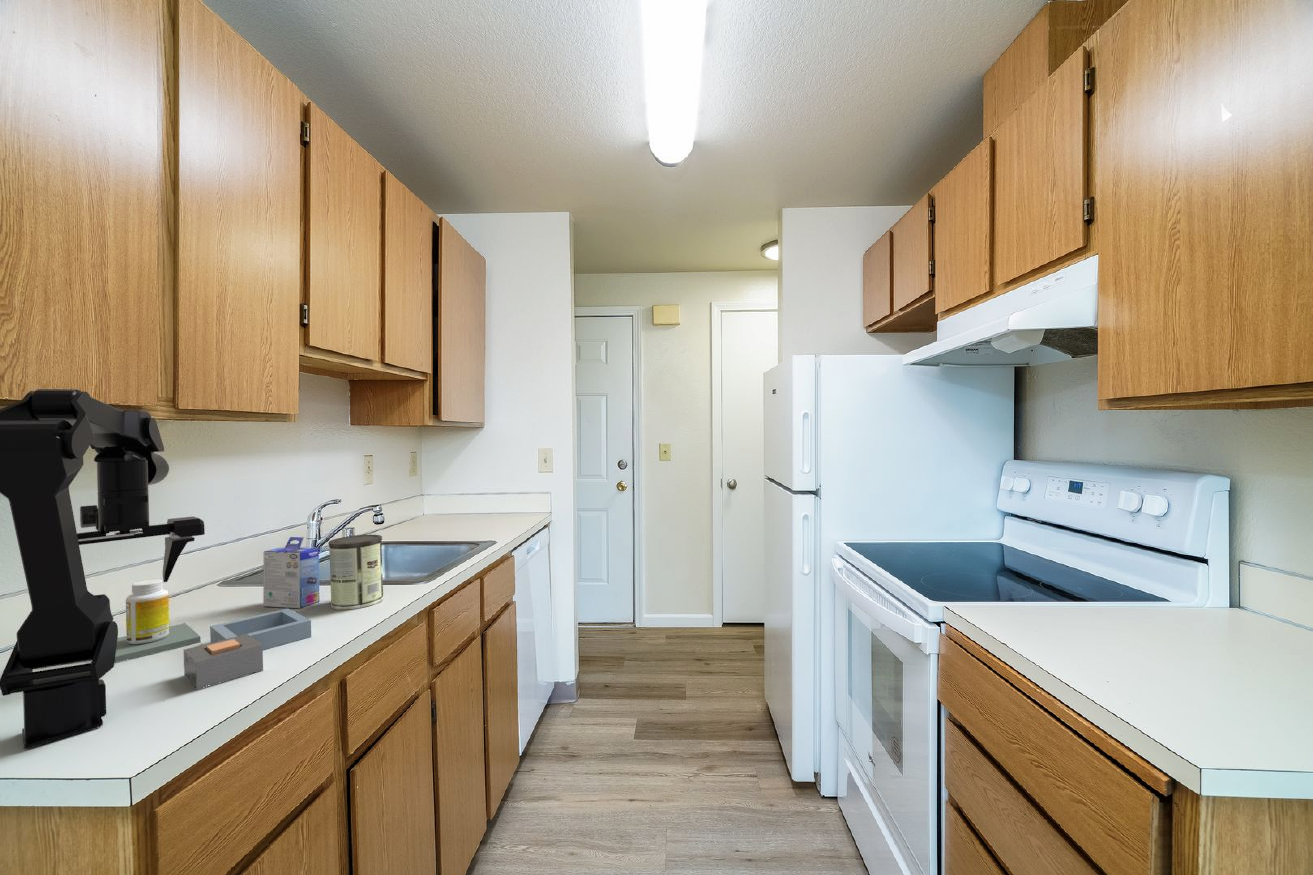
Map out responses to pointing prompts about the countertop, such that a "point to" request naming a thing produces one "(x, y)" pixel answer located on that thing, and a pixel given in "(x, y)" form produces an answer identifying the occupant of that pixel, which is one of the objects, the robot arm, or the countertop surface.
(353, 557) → the coffee can
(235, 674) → the block
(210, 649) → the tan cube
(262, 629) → the tray
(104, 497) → the robot arm
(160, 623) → the supplement bottle
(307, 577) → the ink cartridge box
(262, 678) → the countertop surface
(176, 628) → the mat
